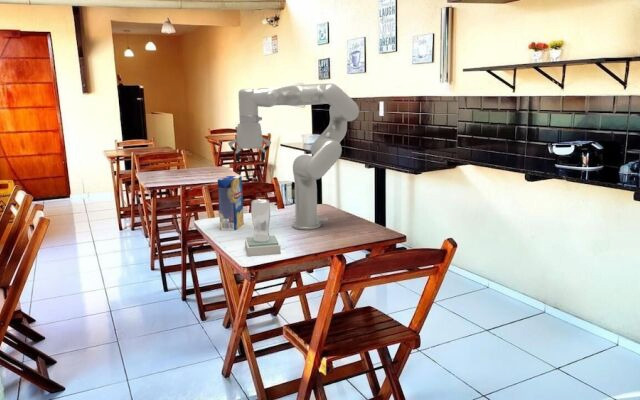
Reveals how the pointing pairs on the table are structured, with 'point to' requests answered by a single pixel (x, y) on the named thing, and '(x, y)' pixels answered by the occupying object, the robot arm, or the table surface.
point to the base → (262, 246)
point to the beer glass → (261, 219)
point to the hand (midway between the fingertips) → (250, 162)
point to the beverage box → (230, 202)
